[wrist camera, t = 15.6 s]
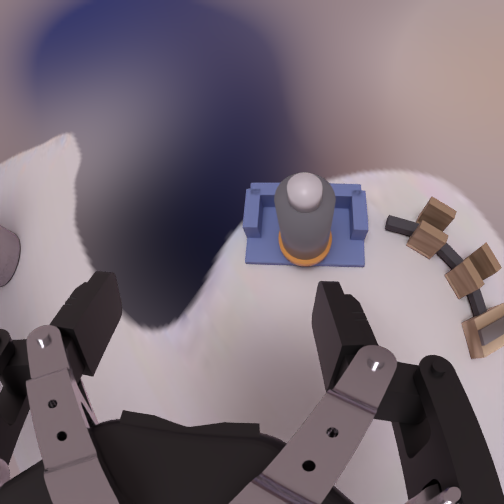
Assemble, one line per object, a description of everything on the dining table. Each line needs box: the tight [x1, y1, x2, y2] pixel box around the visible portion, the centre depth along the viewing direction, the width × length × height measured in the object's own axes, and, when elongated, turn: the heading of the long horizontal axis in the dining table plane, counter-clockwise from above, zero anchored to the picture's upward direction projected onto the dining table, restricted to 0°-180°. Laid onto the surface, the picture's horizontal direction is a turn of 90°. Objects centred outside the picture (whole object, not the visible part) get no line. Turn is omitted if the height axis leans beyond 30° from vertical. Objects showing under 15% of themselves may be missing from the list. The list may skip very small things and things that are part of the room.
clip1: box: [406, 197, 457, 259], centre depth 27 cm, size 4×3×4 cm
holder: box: [243, 183, 368, 267], centre depth 30 cm, size 8×12×3 cm, turn 85°
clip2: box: [445, 243, 502, 299], centre depth 25 cm, size 4×3×4 cm
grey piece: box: [274, 173, 336, 267], centre depth 26 cm, size 5×5×11 cm
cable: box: [385, 215, 487, 316], centre depth 27 cm, size 16×4×1 cm, turn 40°
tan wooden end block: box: [462, 303, 504, 359], centre depth 23 cm, size 4×4×3 cm
